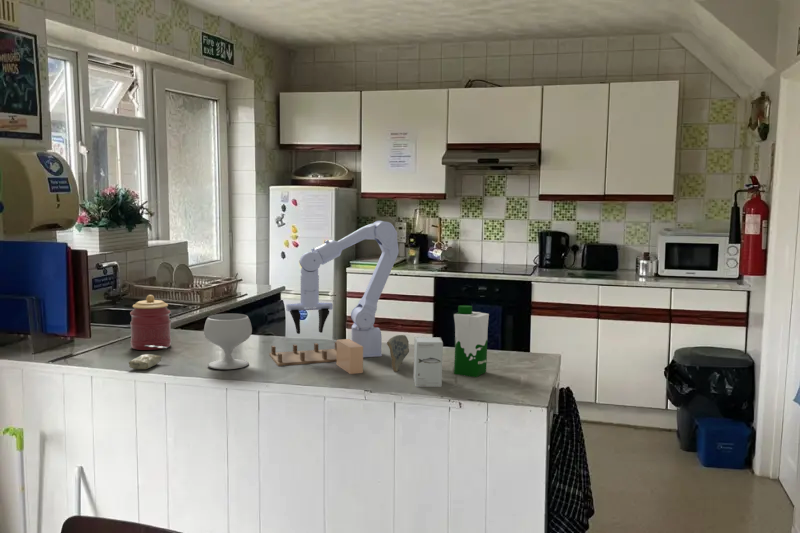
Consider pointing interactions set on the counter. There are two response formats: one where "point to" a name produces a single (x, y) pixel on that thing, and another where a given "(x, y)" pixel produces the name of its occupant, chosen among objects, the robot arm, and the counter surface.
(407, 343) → the ceramic fragment
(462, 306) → the milk carton
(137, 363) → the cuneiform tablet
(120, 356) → the counter surface
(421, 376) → the supplement box
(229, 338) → the chalice
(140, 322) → the canister
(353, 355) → the tan rectangular block
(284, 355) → the comb rack
